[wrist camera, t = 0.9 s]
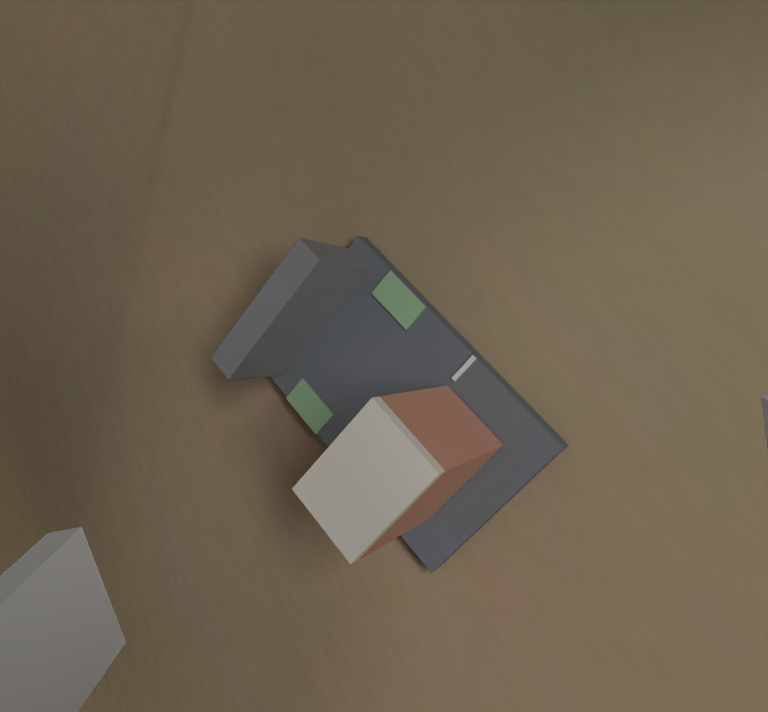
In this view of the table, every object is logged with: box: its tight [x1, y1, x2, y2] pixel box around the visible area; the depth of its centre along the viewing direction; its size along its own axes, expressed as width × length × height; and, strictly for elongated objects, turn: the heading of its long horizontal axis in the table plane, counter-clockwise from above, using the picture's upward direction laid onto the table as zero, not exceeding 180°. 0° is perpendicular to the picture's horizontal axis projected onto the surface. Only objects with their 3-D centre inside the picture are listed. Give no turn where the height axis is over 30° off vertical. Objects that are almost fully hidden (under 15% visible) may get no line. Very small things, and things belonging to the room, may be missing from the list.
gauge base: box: [211, 236, 568, 573], centre depth 42 cm, size 12×19×7 cm, turn 47°
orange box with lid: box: [292, 385, 503, 564], centre depth 38 cm, size 7×5×10 cm
